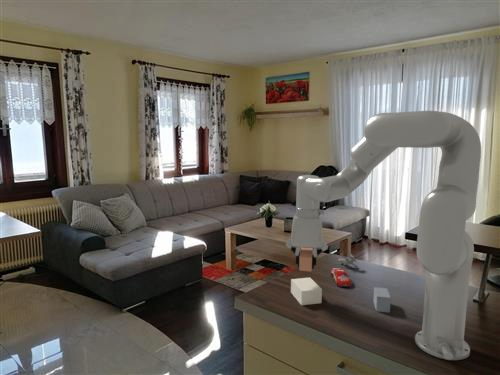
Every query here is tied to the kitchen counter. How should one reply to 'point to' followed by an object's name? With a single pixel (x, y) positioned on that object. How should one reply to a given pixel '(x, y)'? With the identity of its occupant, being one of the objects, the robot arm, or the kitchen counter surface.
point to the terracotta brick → (305, 259)
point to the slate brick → (381, 300)
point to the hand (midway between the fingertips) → (305, 266)
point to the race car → (340, 277)
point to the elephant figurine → (347, 260)
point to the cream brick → (306, 291)
